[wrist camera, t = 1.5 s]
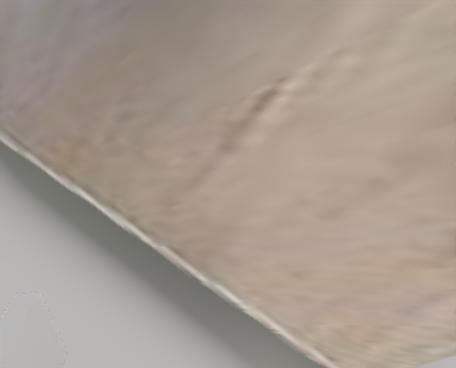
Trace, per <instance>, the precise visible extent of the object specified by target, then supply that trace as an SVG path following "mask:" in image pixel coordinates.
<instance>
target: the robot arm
mask: <svg viewBox="0 0 456 368" xmlns="http://www.w3.org/2000/svg"><path fill="white" fill-rule="evenodd" d="M67 354H68V353H67V351H66V348H65V346H64V344H63V342H62V339H61V337H60V335H59V332H58V330H57V328H56V326H55V324H54V321H53V319H52V317H51V314H50V312H49V310H48V308H47V306H46V303H45V301H44V299H43V297H42V294H41V292H35V293H20V294H15V296H14V297H13V299H12V300H11V302H10V304H9V305H8V307H7V309H6V310H5V312H4V313H3V315H2V317H1V318H0V368H62V367H63V364H64V362H65V359H66V357H67Z"/></svg>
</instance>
